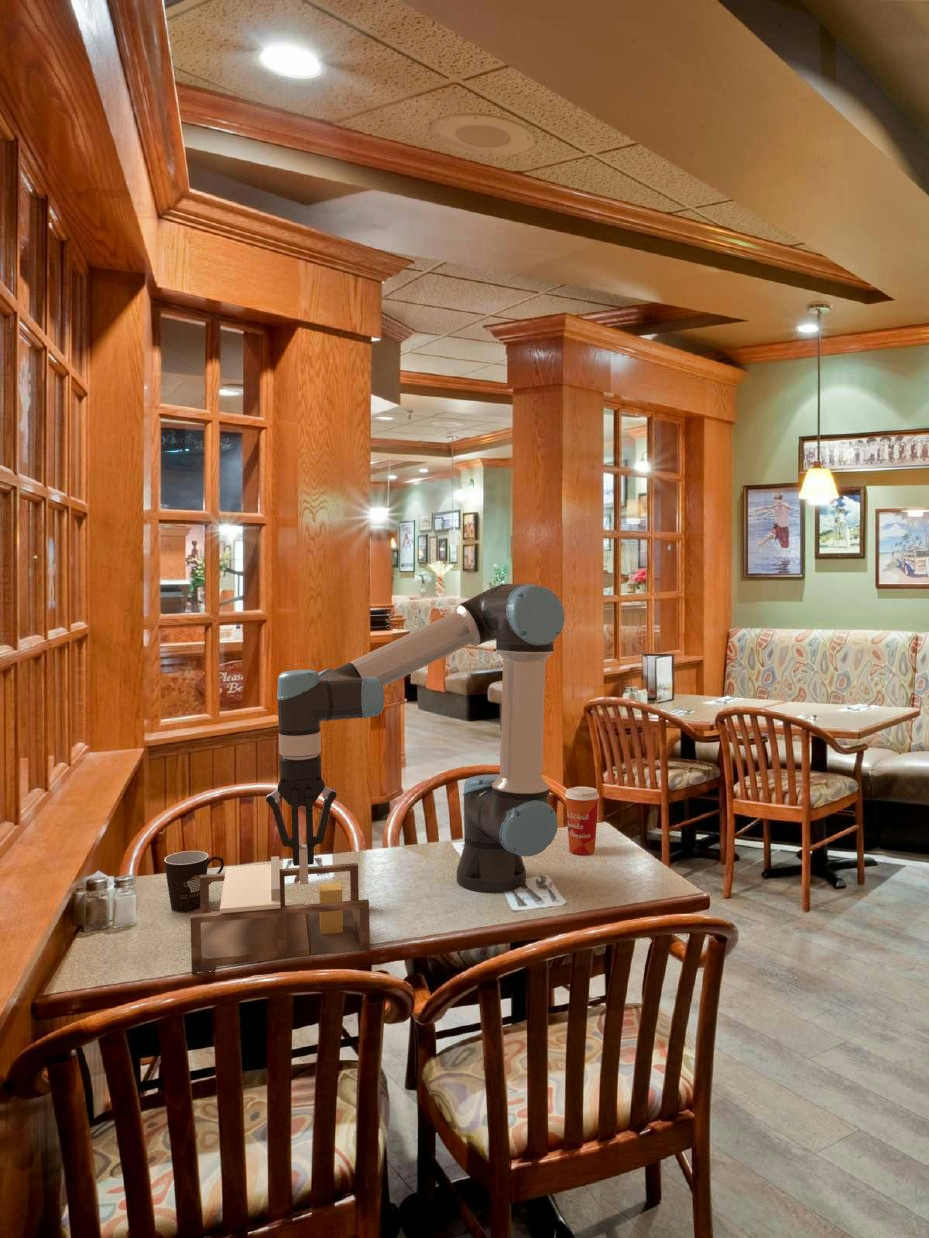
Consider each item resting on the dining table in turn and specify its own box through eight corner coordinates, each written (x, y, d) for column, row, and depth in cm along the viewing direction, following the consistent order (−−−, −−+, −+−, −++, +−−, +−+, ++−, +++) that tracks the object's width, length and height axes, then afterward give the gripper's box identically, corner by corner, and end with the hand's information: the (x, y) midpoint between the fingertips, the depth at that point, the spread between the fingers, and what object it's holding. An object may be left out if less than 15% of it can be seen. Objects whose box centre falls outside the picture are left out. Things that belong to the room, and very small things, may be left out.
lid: (279, 867, 173) (279, 853, 173) (280, 908, 152) (280, 892, 152) (226, 871, 171) (225, 857, 170) (219, 913, 150) (219, 897, 150)
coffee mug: (164, 916, 174) (163, 866, 174) (166, 900, 183) (165, 853, 182) (225, 909, 178) (224, 860, 177) (224, 894, 186) (223, 847, 185)
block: (341, 923, 167) (340, 882, 167) (342, 932, 163) (342, 889, 163) (319, 925, 166) (319, 883, 166) (320, 934, 162) (320, 891, 162)
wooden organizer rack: (358, 910, 177) (357, 862, 176) (369, 956, 156) (369, 902, 155) (201, 924, 170) (200, 874, 170) (191, 974, 149) (190, 917, 149)
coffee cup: (557, 851, 213) (557, 789, 212) (579, 844, 218) (579, 784, 218) (584, 859, 207) (584, 796, 206) (606, 851, 212) (607, 790, 211)
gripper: (334, 748, 167) (338, 871, 168) (263, 753, 164) (267, 878, 166) (337, 757, 160) (341, 885, 161) (263, 761, 157) (267, 892, 158)
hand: (304, 881), depth 163 cm, fingers closed
